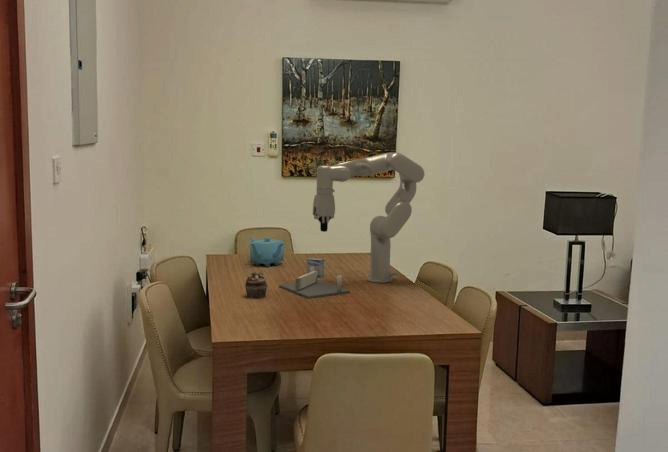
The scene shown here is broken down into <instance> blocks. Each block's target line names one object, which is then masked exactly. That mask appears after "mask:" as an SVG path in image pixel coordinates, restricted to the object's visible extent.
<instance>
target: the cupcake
mask: <svg viewBox="0 0 668 452" xmlns="http://www.w3.org/2000/svg"><path fill="white" fill-rule="evenodd" d="M267 290H268V284H267V282H266V278H265V274H264V273H261V272H260V273H257V272H253V273H249V274H247V279H246V280H245V292H246V297H247V298H251V299H262V298H265V297H266V294H267Z"/></svg>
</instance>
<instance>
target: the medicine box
mask: <svg viewBox="0 0 668 452" xmlns="http://www.w3.org/2000/svg"><path fill="white" fill-rule="evenodd" d="M310 267H314V271H317V278H322V277H324V276H325V259H324V258H316V257H315V258H313V257H308V258H307V259H306V273H305V274H308V273H310Z"/></svg>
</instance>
